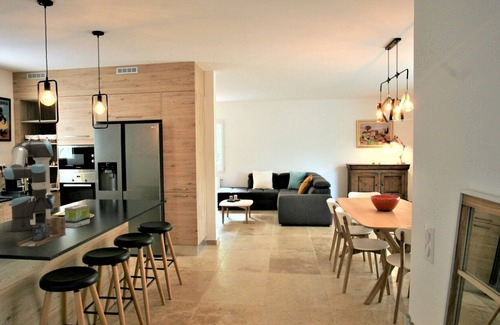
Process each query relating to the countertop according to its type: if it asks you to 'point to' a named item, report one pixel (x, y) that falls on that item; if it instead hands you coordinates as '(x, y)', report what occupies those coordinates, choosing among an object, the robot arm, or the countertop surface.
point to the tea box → (77, 216)
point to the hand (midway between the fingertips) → (40, 221)
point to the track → (55, 232)
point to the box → (40, 231)
